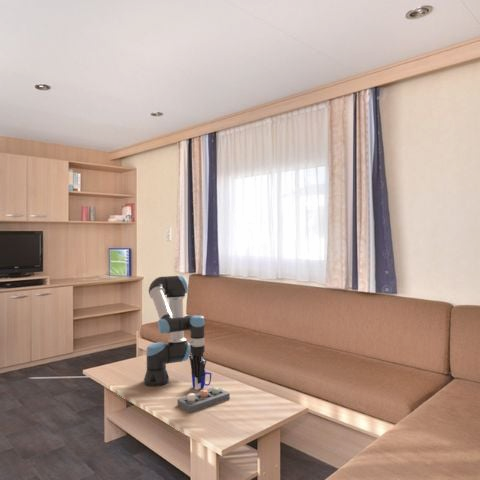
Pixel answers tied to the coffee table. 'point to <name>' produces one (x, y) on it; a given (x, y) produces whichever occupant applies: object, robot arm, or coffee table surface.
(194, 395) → the button ivory
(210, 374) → the mug
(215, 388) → the button sage
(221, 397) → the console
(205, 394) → the button terracotta
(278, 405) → the coffee table surface
